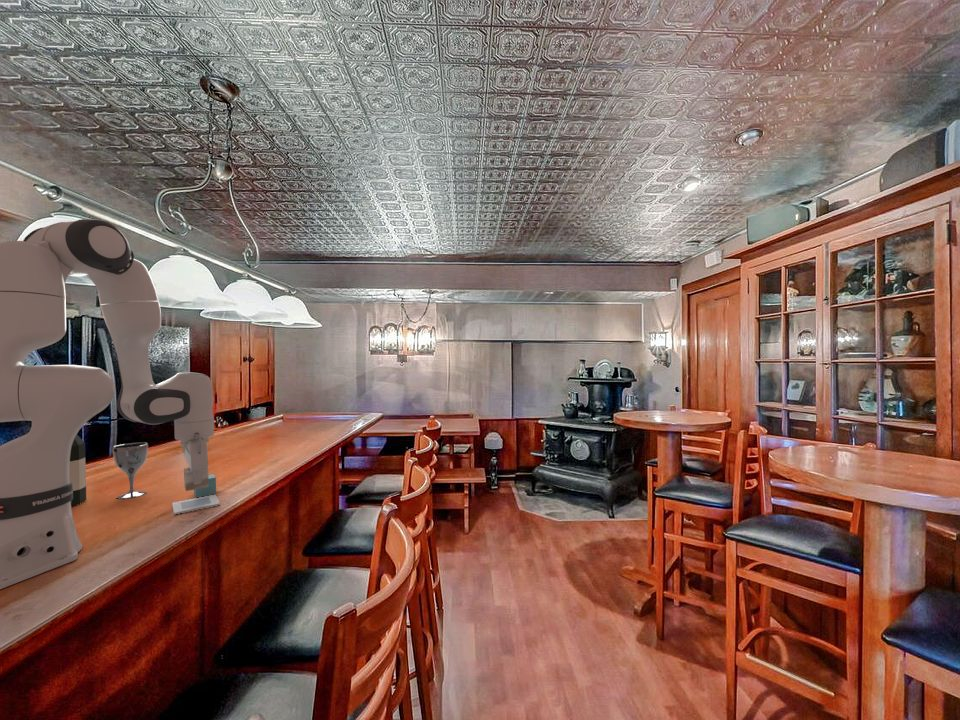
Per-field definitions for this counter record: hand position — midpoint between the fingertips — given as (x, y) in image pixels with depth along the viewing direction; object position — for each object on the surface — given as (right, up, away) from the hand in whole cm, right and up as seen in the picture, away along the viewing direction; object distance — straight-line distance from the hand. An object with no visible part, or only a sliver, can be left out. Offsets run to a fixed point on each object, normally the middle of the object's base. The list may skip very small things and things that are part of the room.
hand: (196, 480), depth 110 cm
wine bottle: (-39, -8, +3) cm, 40 cm away
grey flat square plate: (0, -7, -1) cm, 7 cm away
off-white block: (0, -2, 0) cm, 2 cm away
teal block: (-4, -7, +9) cm, 12 cm away
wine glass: (-26, -7, +9) cm, 29 cm away
